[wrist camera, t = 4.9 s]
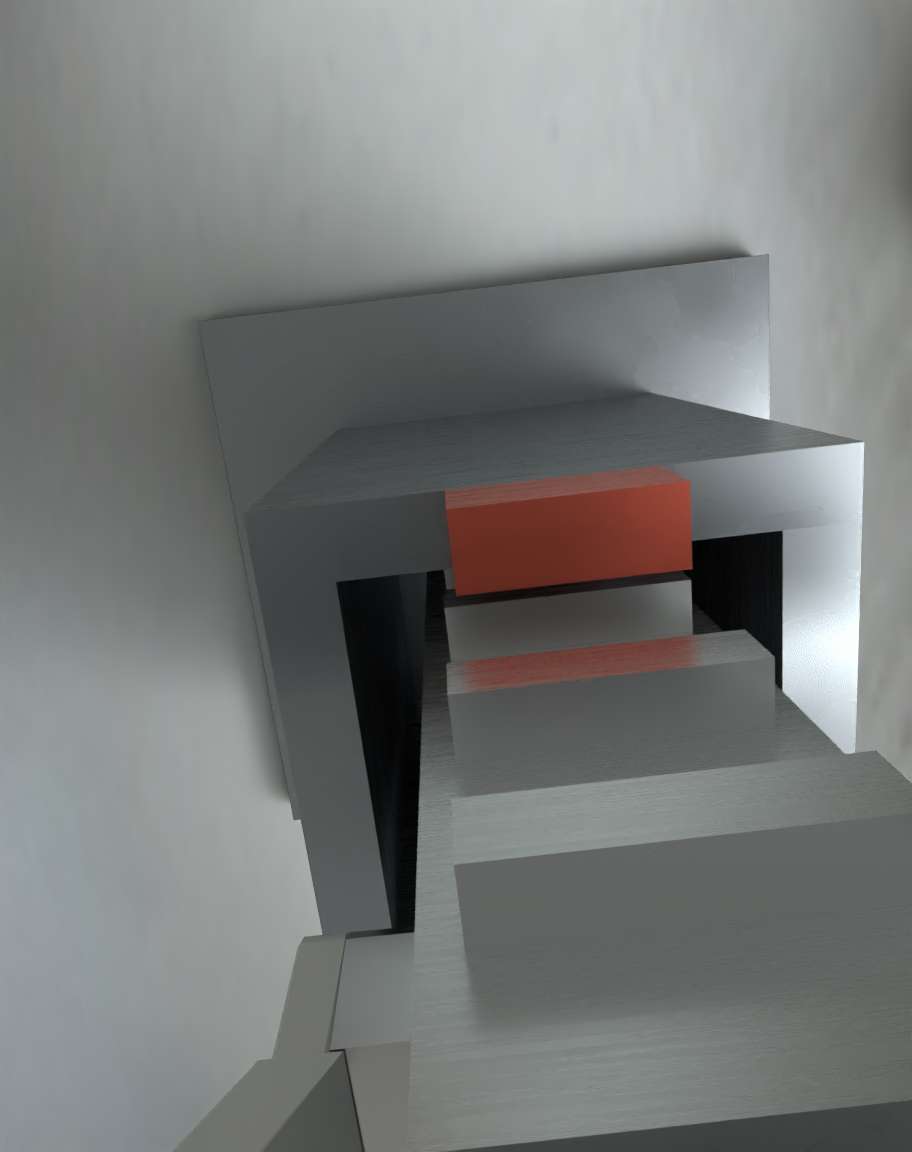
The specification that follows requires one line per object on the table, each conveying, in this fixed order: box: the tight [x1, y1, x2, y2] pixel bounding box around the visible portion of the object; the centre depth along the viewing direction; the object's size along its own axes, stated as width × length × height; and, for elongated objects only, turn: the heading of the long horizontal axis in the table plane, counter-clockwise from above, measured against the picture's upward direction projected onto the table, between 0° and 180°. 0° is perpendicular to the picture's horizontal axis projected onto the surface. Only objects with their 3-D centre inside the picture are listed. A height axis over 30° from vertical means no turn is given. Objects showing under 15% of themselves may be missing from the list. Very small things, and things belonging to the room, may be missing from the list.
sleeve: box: [198, 254, 864, 935], centre depth 19 cm, size 16×16×14 cm
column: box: [407, 568, 912, 1152], centre depth 15 cm, size 4×5×20 cm
